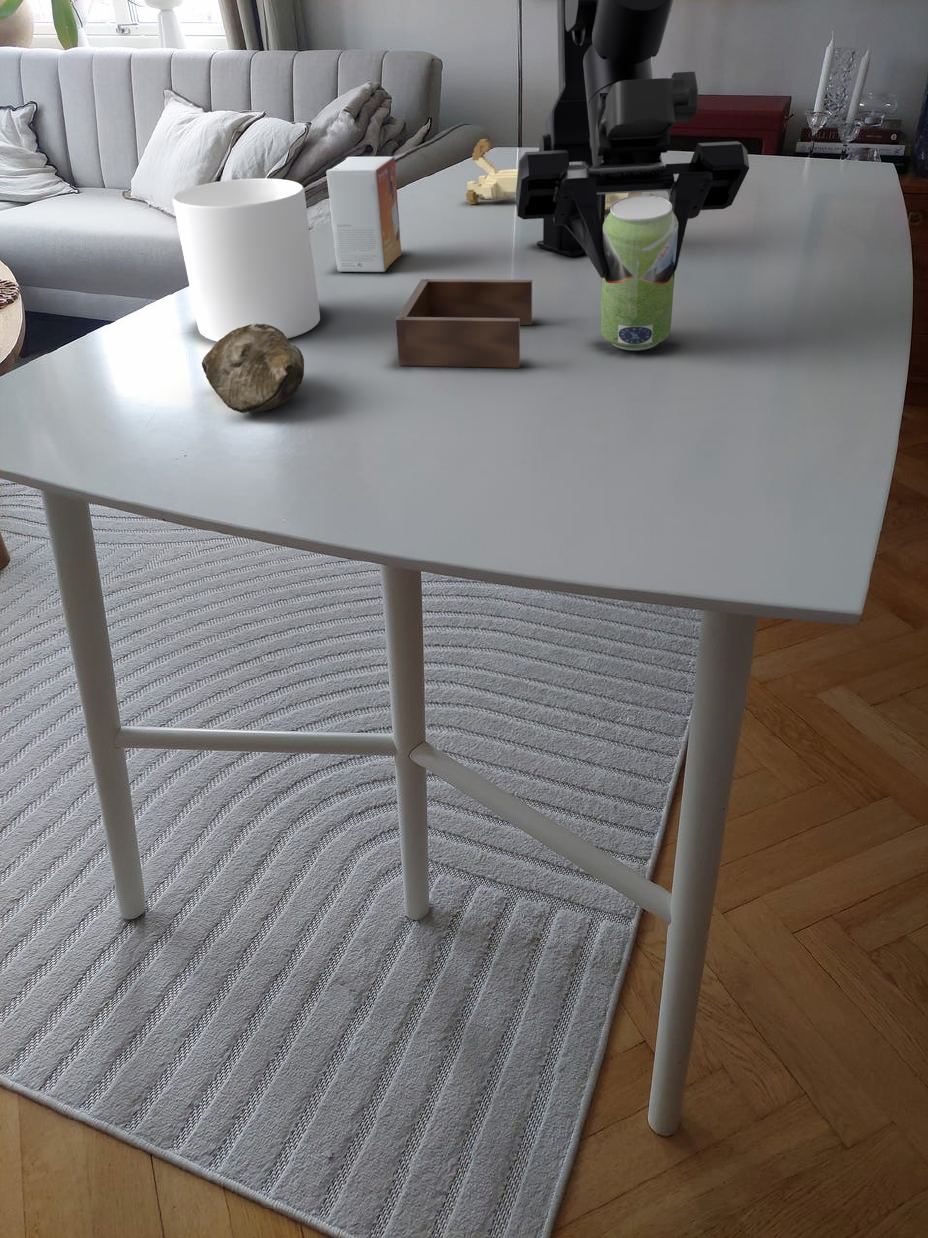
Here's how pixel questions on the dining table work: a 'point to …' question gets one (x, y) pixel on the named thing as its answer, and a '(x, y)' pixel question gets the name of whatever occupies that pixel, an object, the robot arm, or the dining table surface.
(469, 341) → the case
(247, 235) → the cup
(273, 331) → the fossilized seashell
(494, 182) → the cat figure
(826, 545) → the dining table surface
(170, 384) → the dining table surface
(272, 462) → the dining table surface
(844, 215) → the dining table surface
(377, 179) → the small box
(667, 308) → the beverage can
